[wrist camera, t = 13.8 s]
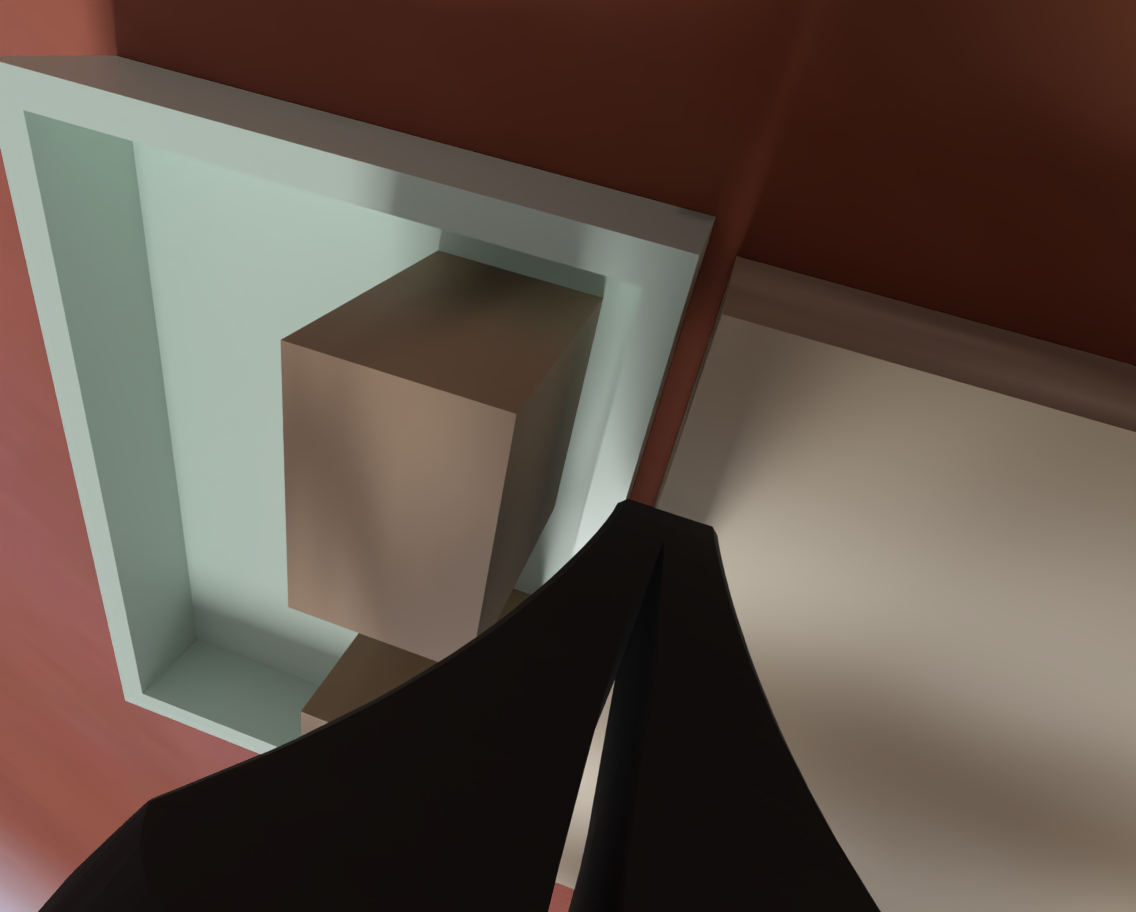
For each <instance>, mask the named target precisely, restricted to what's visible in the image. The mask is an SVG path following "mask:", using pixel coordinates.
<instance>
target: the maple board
mask: <svg viewBox="0 0 1136 912" xmlns="http://www.w3.org/2000/svg"><path fill="white" fill-rule="evenodd" d="M654 508H657V509H660V510H663V511H666V512H669V513H672V514H675V515H678V516H682V517H685V518H688V519H691V520H694V521H697V522H700V523H703V524H706V525H709V526H712V527H713V528H714V530H715V532H716V534H717V536H718V542H719V547H720V553H721V557H722V562H723V566H724V571H725V575H726V579H727V582H728V586H729V590H730V594H731V597H732V601H733V604H734V608H735V611H736V614H737V617H738V620H739V623H740V626H741V629H742V632H743V635H744V638H745V641H746V644H747V647H748V650H749V653H750V656H751V659H752V661H753V664H754V667H755V669H756V672H757V675H758V677H759V680H760V682H761V685H762V687H763V690H764V692H765V695H766V697H767V699H768V702H769V704H770V707H771V709H772V712H773V714H774V716H775V719H776V721H777V723H778V725H779V728H780V730H781V732H782V734H783V736H784V739H785V741H786V743H787V745H788V747H789V749H790V751H791V754H792V756H793V758H794V760H795V762H796V764H797V766H798V768H799V770H800V772H801V774H802V776H803V778H804V780H805V782H806V784H807V786H808V788H809V790H810V791H811V793H812V795H813V797H814V799H815V801H816V803H817V804H818V806H819V808H820V810H821V812H822V814H823V815H824V817H825V819H826V821H827V823H828V825H829V826H830V828H831V830H832V832H833V834H834V836H835V837H836V839H837V841H838V843H839V844H840V846H841V848H842V849H843V851H844V852H845V854H846V856H847V857H848V859H849V861H850V862H851V864H852V866H853V867H854V869H855V870H856V872H857V874H858V875H859V877H860V879H861V880H862V882H863V883H864V885H865V887H866V888H867V890H868V892H869V893H870V895H871V896H872V898H873V900H874V901H875V903H876V905H877V906H878V908H879V910H880V911H881V912H1136V366H1135V365H1131V364H1128V363H1124V362H1120V361H1117V360H1113V359H1110V358H1106V357H1102V356H1099V355H1095V354H1091V353H1088V352H1084V351H1080V350H1077V349H1073V348H1070V347H1066V346H1062V345H1059V344H1055V343H1051V342H1048V341H1044V340H1040V339H1037V338H1033V337H1029V336H1026V335H1022V334H1019V333H1015V332H1011V331H1008V330H1004V329H1000V328H997V327H993V326H989V325H986V324H982V323H978V322H975V321H971V320H968V319H964V318H960V317H957V316H953V315H949V314H946V313H942V312H938V311H935V310H931V309H928V308H924V307H920V306H917V305H913V304H909V303H906V302H902V301H898V300H895V299H891V298H887V297H884V296H880V295H877V294H873V293H869V292H866V291H862V290H858V289H855V288H851V287H847V286H844V285H840V284H837V283H833V282H829V281H826V280H822V279H818V278H815V277H811V276H807V275H804V274H800V273H796V272H793V271H789V270H786V269H782V268H778V267H775V266H771V265H767V264H764V263H760V262H756V261H753V260H749V259H745V258H742V257H738V256H736V259H735V262H734V265H733V268H732V271H731V274H730V277H729V280H728V283H727V286H726V289H725V292H724V295H723V298H722V301H721V304H720V307H719V310H718V314H717V317H716V320H715V323H714V326H713V329H712V332H711V335H710V338H709V341H708V344H707V347H706V350H705V353H704V356H703V359H702V362H701V365H700V368H699V371H698V374H697V377H696V380H695V383H694V386H693V389H692V392H691V395H690V398H689V401H688V404H687V407H686V410H685V413H684V416H683V419H682V422H681V425H680V428H679V431H678V434H677V437H676V440H675V443H674V446H673V449H672V452H671V455H670V458H669V461H668V464H667V467H666V470H665V474H664V477H663V480H662V483H661V486H660V489H659V492H658V495H657V498H656V501H655V504H654ZM614 682H615V681H614ZM613 688H614V683H613V686H612V688H611V691H610V693H609V696H608V698H607V701H606V703H605V706H604V708H603V711H602V713H601V716H600V718H599V721H598V723H597V726H596V728H595V731H594V735H593V739H592V743H591V747H590V750H589V754H588V758H587V762H586V765H585V769H584V773H583V777H582V780H581V784H580V788H579V792H578V796H577V800H576V804H575V807H574V811H573V815H572V819H571V823H570V827H569V831H568V835H567V838H566V842H565V846H564V850H563V854H562V858H561V862H560V866H559V869H558V873H557V877H556V881H555V882H556V883H559V884H561V885H564V886H567V887H569V888H572V889H575V885H576V881H577V878H578V874H579V870H580V866H581V861H582V857H583V852H584V848H585V843H586V838H587V834H588V828H589V823H590V817H591V811H592V806H593V800H594V794H595V789H596V783H597V777H598V772H599V766H600V760H601V755H602V749H603V743H604V738H605V732H606V727H607V721H608V715H609V710H610V704H611V699H612V693H613Z"/></svg>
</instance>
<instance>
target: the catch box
mask: <svg viewBox="0 0 1136 912" xmlns="http://www.w3.org/2000/svg"><path fill="white" fill-rule="evenodd" d="M0 148H1V152H2V157H3V161H4V166H5V170H6V175H7V179H8V183H9V188H10V192H11V197H12V201H13V206H14V210H15V214H16V219H17V223H18V228H19V232H20V237H21V241H22V245H23V250H24V254H25V259H26V263H27V267H28V272H29V276H30V281H31V285H32V290H33V294H34V298H35V303H36V307H37V312H38V316H39V321H40V325H41V329H42V334H43V338H44V343H45V347H46V351H47V356H48V360H49V365H50V369H51V374H52V378H53V382H54V387H55V391H56V396H57V400H58V405H59V409H60V413H61V418H62V422H63V427H64V431H65V435H66V440H67V444H68V449H69V453H70V458H71V462H72V466H73V471H74V475H75V480H76V484H77V489H78V493H79V497H80V502H81V506H82V511H83V515H84V520H85V524H86V528H87V533H88V537H89V542H90V546H91V550H92V555H93V559H94V564H95V568H96V573H97V577H98V581H99V586H100V590H101V595H102V599H103V604H104V608H105V612H106V617H107V621H108V626H109V630H110V634H111V639H112V643H113V648H114V652H115V657H116V661H117V665H118V670H119V674H120V679H121V683H122V688H123V692H124V696H125V701H128V702H131V703H133V704H136V705H138V706H141V707H143V708H146V709H148V710H151V711H153V712H156V713H158V714H161V715H163V716H166V717H168V718H171V719H173V720H176V721H178V722H181V723H183V724H186V725H188V726H191V727H194V728H196V729H199V730H201V731H204V732H206V733H209V734H211V735H214V736H216V737H219V738H221V739H224V740H226V741H229V742H231V743H234V744H236V745H239V746H241V747H244V748H246V749H249V750H251V751H254V752H257V753H259V754H263V753H265V752H268V751H270V750H272V749H274V748H276V747H279V746H281V745H283V744H285V743H288V742H290V741H292V740H294V739H296V738H298V737H300V736H301V711H302V709H303V708H304V707H305V705H306V704H307V702H308V701H309V700H310V698H311V697H312V696H313V694H314V693H315V692H316V690H317V689H318V688H319V686H320V685H321V684H322V682H323V681H324V679H325V678H326V677H327V675H328V674H329V673H330V671H331V670H332V669H333V667H334V666H335V665H336V663H337V662H338V660H339V659H340V658H341V656H342V655H343V654H344V652H345V651H346V650H347V648H348V647H349V646H350V644H351V643H352V641H353V640H354V639H355V637H356V636H357V635H358V633H357V632H355V631H352V630H349V629H346V628H344V627H341V626H338V625H335V624H333V623H330V622H327V621H325V620H322V619H319V618H316V617H314V616H311V615H308V614H305V613H303V612H300V611H297V610H294V609H292V608H289V607H288V583H287V548H286V513H285V479H284V444H283V409H282V374H281V339H283V338H285V337H286V336H288V335H290V334H292V333H293V332H295V331H297V330H299V329H301V328H302V327H304V326H306V325H308V324H309V323H311V322H313V321H315V320H316V319H318V318H320V317H322V316H323V315H325V314H327V313H329V312H330V311H332V310H334V309H336V308H337V307H339V306H341V305H343V304H345V303H346V302H348V301H350V300H352V299H353V298H355V297H357V296H359V295H360V294H362V293H364V292H366V291H367V290H369V289H371V288H373V287H374V286H376V285H378V284H380V283H381V282H383V281H385V280H387V279H389V278H390V277H392V276H394V275H396V274H397V273H399V272H401V271H403V270H404V269H406V268H408V267H410V266H411V265H413V264H415V263H417V262H418V261H420V260H422V259H424V258H425V257H427V256H429V255H431V254H432V253H434V252H436V251H438V250H439V251H442V252H446V253H449V254H452V255H456V256H459V257H463V258H466V259H470V260H473V261H477V262H480V263H484V264H487V265H491V266H494V267H498V268H501V269H505V270H508V271H512V272H515V273H518V274H522V275H525V276H529V277H532V278H536V279H539V280H543V281H546V282H550V283H553V284H557V285H560V286H564V287H567V288H571V289H574V290H578V291H581V292H584V293H588V294H591V295H595V296H598V297H602V298H603V302H602V306H601V310H600V315H599V319H598V323H597V327H596V332H595V336H594V340H593V344H592V349H591V353H590V357H589V362H588V366H587V370H586V374H585V379H584V383H583V387H582V392H581V396H580V400H579V404H578V409H577V413H576V417H575V422H574V426H573V430H572V434H571V439H570V443H569V447H568V452H567V456H566V460H565V464H564V469H563V473H562V477H561V482H560V486H559V490H558V494H557V499H556V503H555V507H554V510H553V512H552V514H551V516H550V518H549V519H548V521H547V523H546V525H545V527H544V529H543V531H542V533H541V535H540V537H539V539H538V541H537V543H536V545H535V547H534V549H533V551H532V553H531V555H530V557H529V559H528V561H527V563H526V565H525V567H524V568H523V570H522V572H521V574H520V576H519V578H518V580H517V582H516V584H515V586H514V589H517V590H519V591H522V592H525V593H528V594H533V593H534V592H535V591H536V590H537V589H539V588H540V587H541V586H542V585H543V584H545V583H546V582H547V581H548V580H549V579H550V578H551V577H552V576H554V575H555V574H556V573H557V572H558V571H559V570H560V569H561V568H562V567H563V566H564V565H565V564H566V563H567V562H568V561H569V560H570V559H571V558H572V557H573V556H574V555H575V554H576V553H577V552H578V551H579V550H580V549H581V548H582V547H583V546H584V545H585V544H586V543H587V542H588V541H589V540H590V539H591V538H592V537H593V535H594V534H595V533H596V532H597V531H598V530H599V529H600V527H601V526H602V525H603V524H604V523H605V521H606V520H607V519H608V517H609V516H610V515H611V513H612V512H613V510H614V508H615V507H616V505H617V503H619V502H621V501H624V500H626V499H629V500H630V497H631V493H632V490H633V487H634V483H635V480H636V477H637V474H638V470H639V467H640V464H641V461H642V457H643V454H644V451H645V447H646V444H647V441H648V438H649V434H650V431H651V428H652V425H653V421H654V418H655V415H656V412H657V408H658V405H659V402H660V398H661V395H662V392H663V389H664V385H665V382H666V379H667V376H668V372H669V369H670V366H671V362H672V359H673V356H674V353H675V349H676V346H677V343H678V340H679V336H680V333H681V330H682V326H683V323H684V320H685V317H686V313H687V310H688V307H689V304H690V300H691V297H692V294H693V291H694V287H695V284H696V281H697V277H698V274H699V271H700V268H701V264H702V261H703V258H704V255H705V251H706V248H707V245H708V241H709V238H710V235H711V232H712V228H713V225H714V222H715V219H716V217H715V216H711V215H707V214H703V213H700V212H696V211H692V210H688V209H685V208H681V207H677V206H674V205H670V204H666V203H662V202H659V201H655V200H651V199H648V198H644V197H640V196H636V195H633V194H629V193H625V192H621V191H618V190H614V189H610V188H607V187H603V186H599V185H595V184H592V183H588V182H584V181H581V180H577V179H573V178H569V177H566V176H562V175H558V174H554V173H551V172H547V171H543V170H540V169H536V168H532V167H528V166H525V165H521V164H517V163H514V162H510V161H506V160H502V159H499V158H495V157H491V156H487V155H484V154H480V153H476V152H473V151H469V150H465V149H461V148H458V147H454V146H450V145H447V144H443V143H439V142H435V141H432V140H428V139H424V138H421V137H417V136H413V135H409V134H406V133H402V132H398V131H394V130H391V129H387V128H383V127H380V126H376V125H372V124H368V123H365V122H361V121H357V120H354V119H350V118H346V117H342V116H339V115H335V114H331V113H327V112H324V111H320V110H316V109H313V108H309V107H305V106H301V105H298V104H294V103H290V102H287V101H283V100H279V99H275V98H272V97H268V96H264V95H260V94H257V93H253V92H249V91H246V90H242V89H238V88H234V87H231V86H227V85H223V84H220V83H216V82H212V81H208V80H205V79H201V78H197V77H193V76H190V75H186V74H182V73H179V72H175V71H171V70H167V69H164V68H160V67H156V66H153V65H149V64H145V63H141V62H138V61H134V60H130V59H126V58H123V57H119V56H115V55H109V56H0Z"/></svg>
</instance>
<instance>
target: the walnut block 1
mask: <svg viewBox="0 0 1136 912" xmlns="http://www.w3.org/2000/svg"><path fill="white" fill-rule="evenodd" d="M602 302H603V298H602V297H598V296H595V295H591V294H588V293H584V292H581V291H578V290H574V289H571V288H567V287H564V286H560V285H557V284H553V283H550V282H546V281H543V280H539V279H536V278H532V277H529V276H525V275H522V274H518V273H515V272H512V271H508V270H505V269H501V268H498V267H494V266H491V265H487V264H484V263H480V262H477V261H473V260H470V259H466V258H463V257H459V256H456V255H452V254H449V253H446V252H442V251H439V250H438V251H436V252H434V253H432V254H431V255H429V256H427V257H425V258H424V259H422V260H420V261H418V262H417V263H415V264H413V265H411V266H410V267H408V268H406V269H404V270H403V271H401V272H399V273H397V274H396V275H394V276H392V277H390V278H389V279H387V280H385V281H383V282H381V283H380V284H378V285H376V286H374V287H373V288H371V289H369V290H367V291H366V292H364V293H362V294H360V295H359V296H357V297H355V298H353V299H352V300H350V301H348V302H346V303H345V304H343V305H341V306H339V307H337V308H336V309H334V310H332V311H330V312H329V313H327V314H325V315H323V316H322V317H320V318H318V319H316V320H315V321H313V322H311V323H309V324H308V325H306V326H304V327H302V328H301V329H299V330H297V331H295V332H293V333H292V334H290V335H288V336H286V337H285V338H283V339H281V374H282V409H283V444H284V479H285V513H286V548H287V583H288V607H289V608H292V609H294V610H297V611H300V612H303V613H305V614H308V615H311V616H314V617H316V618H319V619H322V620H325V621H327V622H330V623H333V624H335V625H338V626H341V627H344V628H346V629H349V630H352V631H355V632H357V633H360V634H363V635H366V636H368V637H371V638H374V639H377V640H379V641H382V642H385V643H387V644H390V645H393V646H396V647H398V648H401V649H404V650H407V651H409V652H412V653H415V654H418V655H420V656H423V657H426V658H428V659H431V660H434V661H437V662H439V661H441V660H443V659H444V658H446V657H447V656H449V655H451V654H452V653H454V652H455V651H457V650H458V649H459V648H461V647H462V646H464V645H465V644H467V643H468V642H470V641H471V640H473V639H474V638H476V637H477V636H479V635H480V634H481V633H483V632H484V631H486V630H487V629H488V628H490V627H491V626H492V625H494V624H495V623H496V621H497V619H498V617H499V615H500V614H501V612H502V610H503V608H504V606H505V604H506V602H507V600H508V598H509V596H510V594H511V592H512V590H513V588H514V586H515V584H516V582H517V580H518V578H519V576H520V574H521V572H522V570H523V568H524V567H525V565H526V563H527V561H528V559H529V557H530V555H531V553H532V551H533V549H534V547H535V545H536V543H537V541H538V539H539V537H540V535H541V533H542V531H543V529H544V527H545V525H546V523H547V521H548V519H549V518H550V516H551V514H552V512H553V510H554V507H555V503H556V499H557V494H558V490H559V486H560V482H561V477H562V473H563V469H564V464H565V460H566V456H567V452H568V447H569V443H570V439H571V434H572V430H573V426H574V422H575V417H576V413H577V409H578V404H579V400H580V396H581V392H582V387H583V383H584V379H585V374H586V370H587V366H588V362H589V357H590V353H591V349H592V344H593V340H594V336H595V332H596V327H597V323H598V319H599V315H600V310H601V306H602Z"/></svg>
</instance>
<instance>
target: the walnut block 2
mask: <svg viewBox="0 0 1136 912" xmlns="http://www.w3.org/2000/svg"><path fill="white" fill-rule="evenodd" d="M530 595H531V594H528V593H525V592H522V591H519V590H517V589H514V588H513V590H512V592H511V594H510V596H509V598H508V600H507V602H506V604H505V606H504V608H503V610H502V612H501V614H500V615H499V617H498V619H497V621H496V622H498V621H499V620H500V619H502V618H503V617H504V616H506V615H507V614H508V613H510V612H511V611H512V610H513V609H514V608H516V607H517V606H518V605H519V604H521V603H522V602H523V601H524V600H525V599H527V598H528V597H529V596H530ZM436 663H438V662H437V661H434V660H431V659H428V658H426V657H423V656H420V655H418V654H415V653H412V652H409V651H407V650H404V649H401V648H398V647H396V646H393V645H390V644H387V643H385V642H382V641H379V640H377V639H374V638H371V637H368V636H366V635H363V634H360V633H358V635H357V636H356V637H355V639H354V640H353V641H352V643H351V644H350V646H349V647H348V648H347V650H346V651H345V652H344V654H343V655H342V656H341V658H340V659H339V660H338V662H337V663H336V665H335V666H334V667H333V669H332V670H331V671H330V673H329V674H328V675H327V677H326V678H325V679H324V681H323V682H322V684H321V685H320V686H319V688H318V689H317V690H316V692H315V693H314V694H313V696H312V697H311V698H310V700H309V701H308V702H307V704H306V705H305V707H304V708H303V709H302V711H301V736H302V735H304V734H306V733H308V732H310V731H312V730H314V729H316V728H318V727H320V726H322V725H324V724H326V723H328V722H330V721H332V720H334V719H336V718H338V717H340V716H343V715H345V714H347V713H349V712H351V711H353V710H355V709H357V708H359V707H361V706H363V705H365V704H367V703H369V702H371V701H373V700H374V699H376V698H378V697H380V696H382V695H384V694H385V693H387V692H389V691H391V690H392V689H394V688H396V687H398V686H400V685H401V684H403V683H405V682H406V681H408V680H410V679H411V678H413V677H415V676H416V675H418V674H420V673H421V672H423V671H425V670H426V669H428V668H429V667H431V666H433V665H434V664H436Z"/></svg>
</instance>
